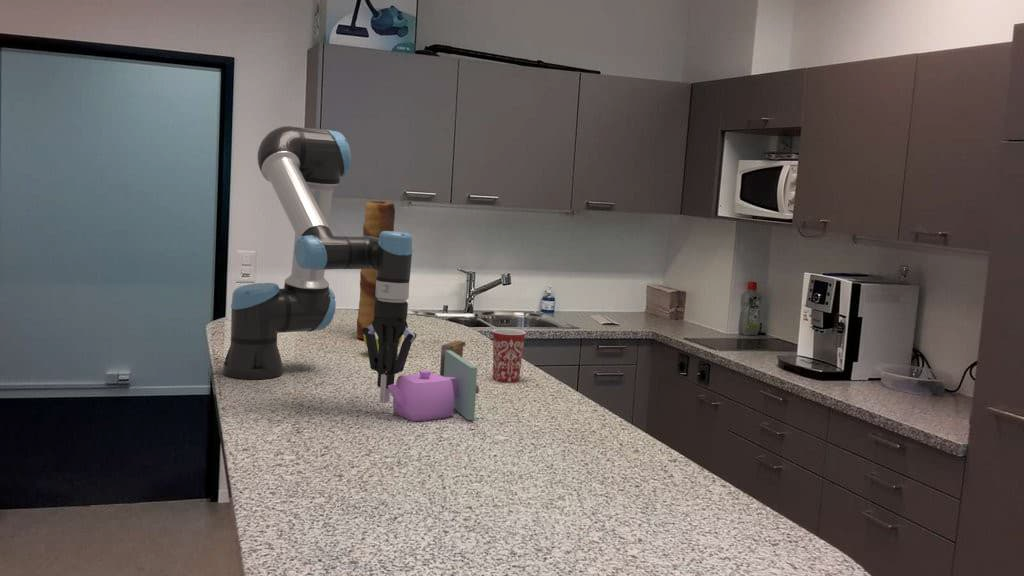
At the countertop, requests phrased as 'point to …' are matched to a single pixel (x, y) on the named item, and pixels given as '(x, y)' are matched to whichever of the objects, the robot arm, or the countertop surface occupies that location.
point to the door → (462, 383)
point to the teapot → (424, 396)
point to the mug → (507, 354)
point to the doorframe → (453, 346)
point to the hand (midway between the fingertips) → (384, 401)
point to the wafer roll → (376, 221)
